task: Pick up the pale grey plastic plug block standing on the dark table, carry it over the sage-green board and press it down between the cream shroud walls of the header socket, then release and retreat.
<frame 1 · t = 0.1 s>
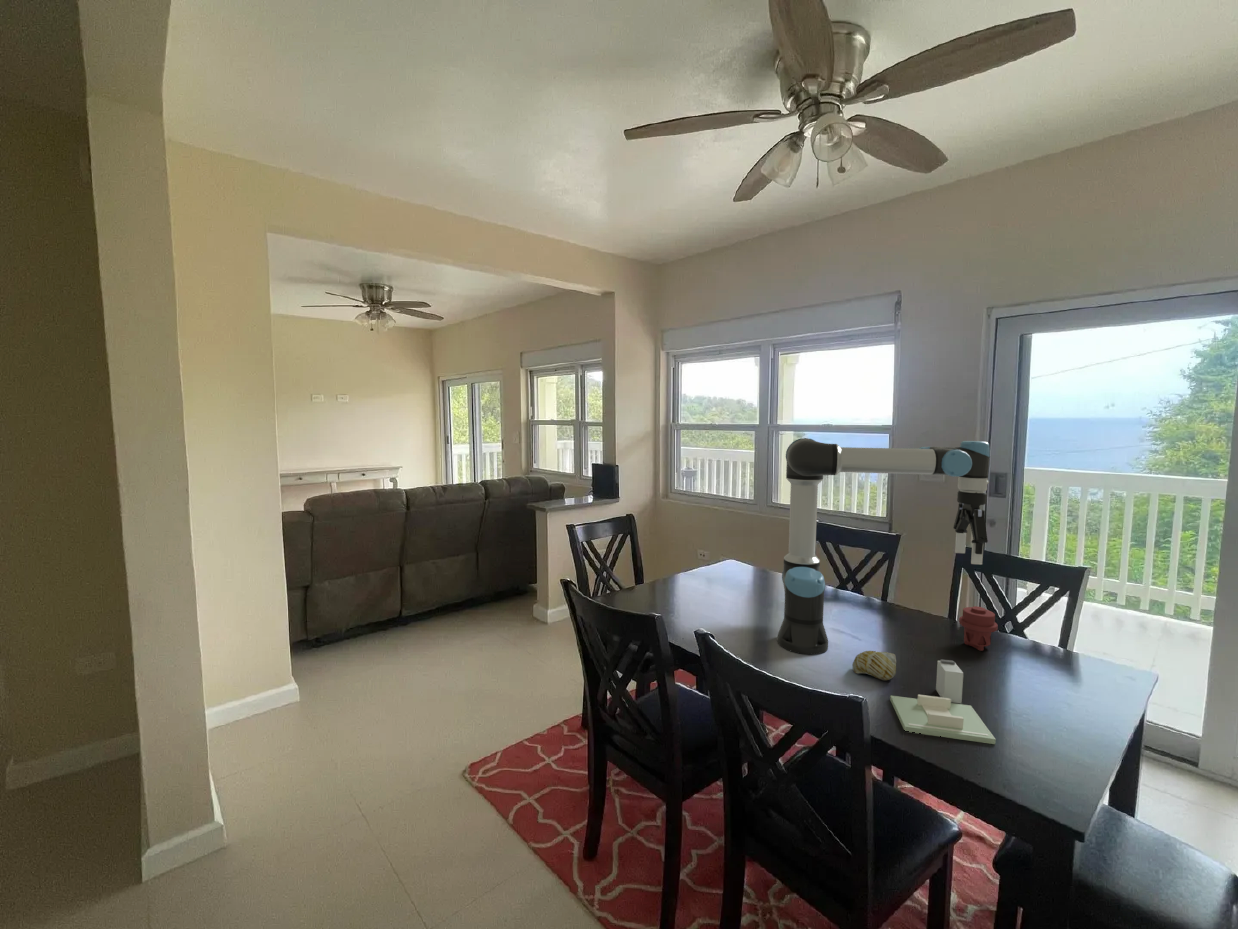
hand: (967, 558, 164), 28 cm above the table, fingers open, 13 cm apart
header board: (938, 720, 124), on the table
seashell: (874, 676, 146), on the table
mechanical component: (976, 647, 165), on the table
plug: (948, 696, 135), on the table
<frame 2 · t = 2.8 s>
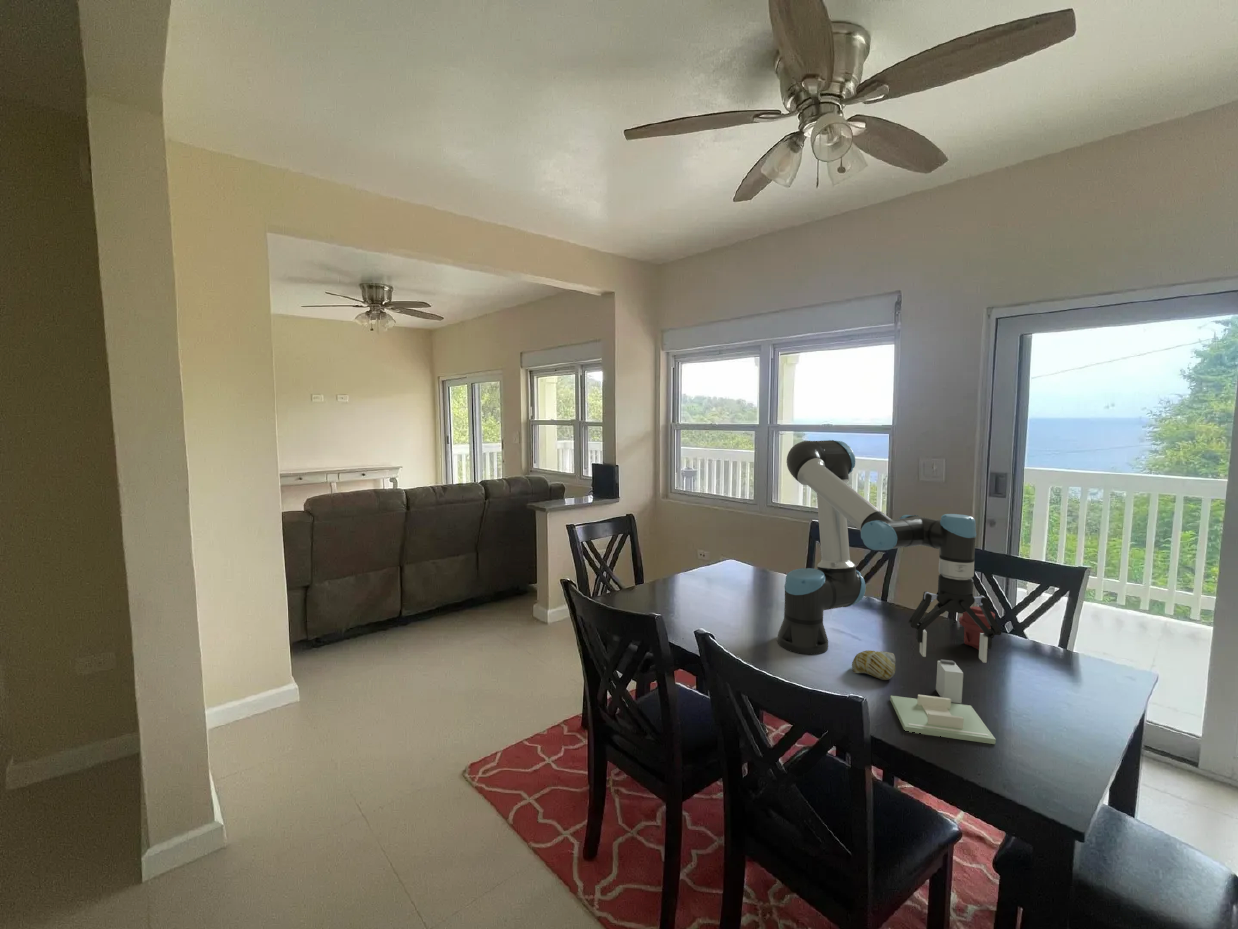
hand: (952, 657, 134), 11 cm above the table, fingers open, 13 cm apart
nothing on the table moved.
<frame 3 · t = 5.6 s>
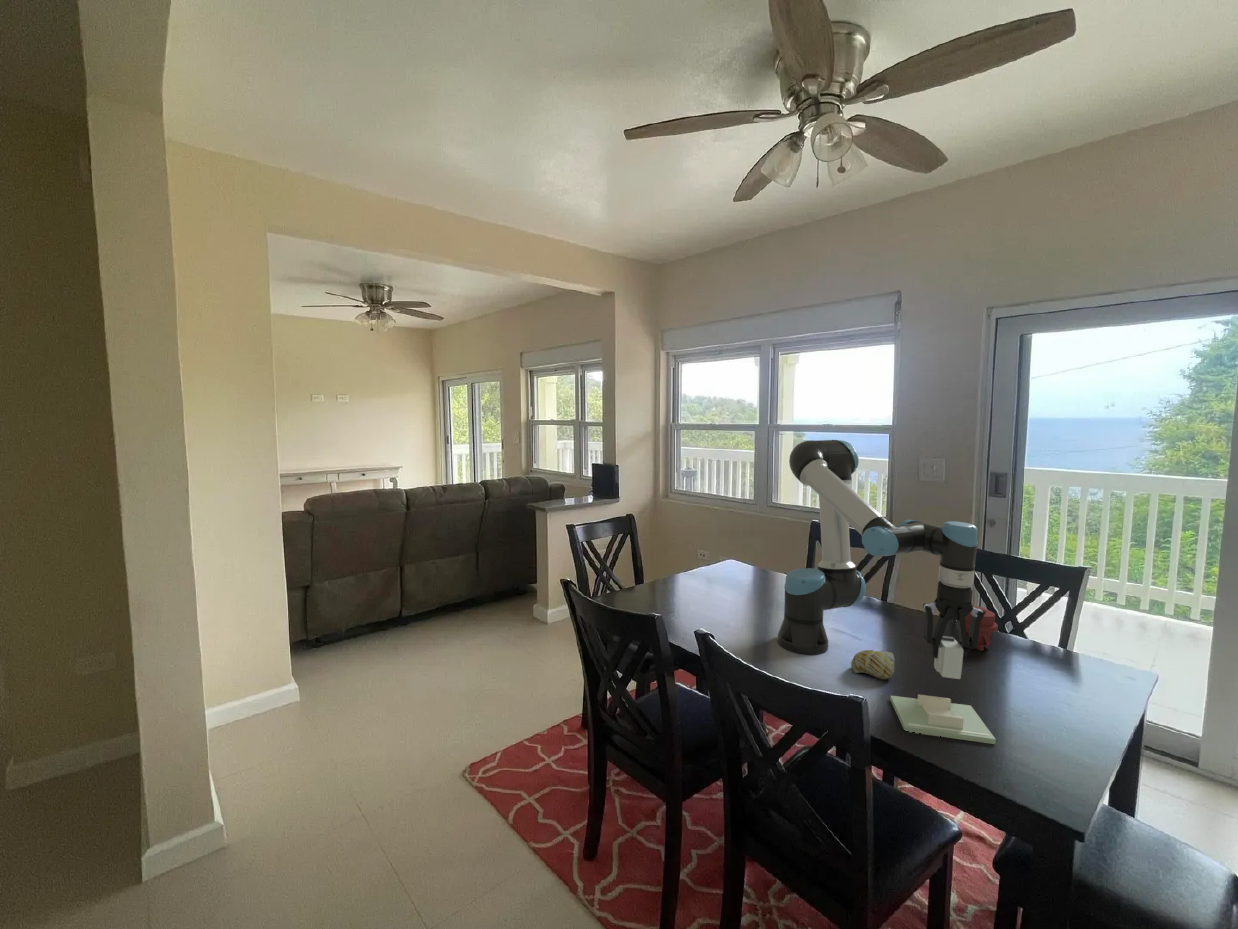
hand: (947, 670, 135), 7 cm above the table, fingers closed on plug, 4 cm apart
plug: (947, 672, 135), point 6 cm above the table, touching gripper
everything else where it was.
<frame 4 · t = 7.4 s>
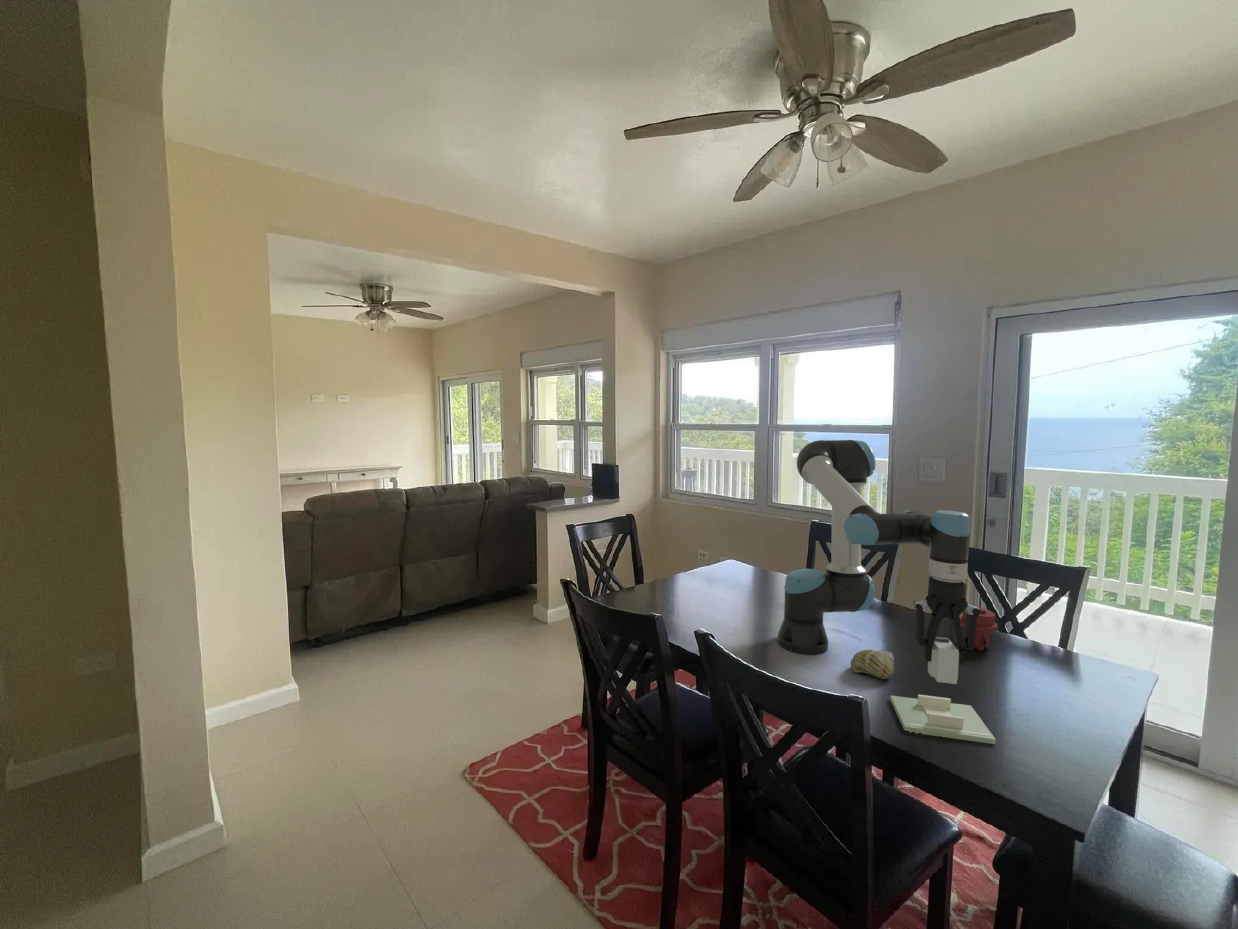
hand: (942, 675, 123), 11 cm above the table, fingers closed on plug, 4 cm apart
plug: (942, 677, 123), point 11 cm above the table, touching gripper
everything else where it was.
when the fingers open (2 cm above the table, at t = 9.3 s): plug stays where it is, resting on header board.
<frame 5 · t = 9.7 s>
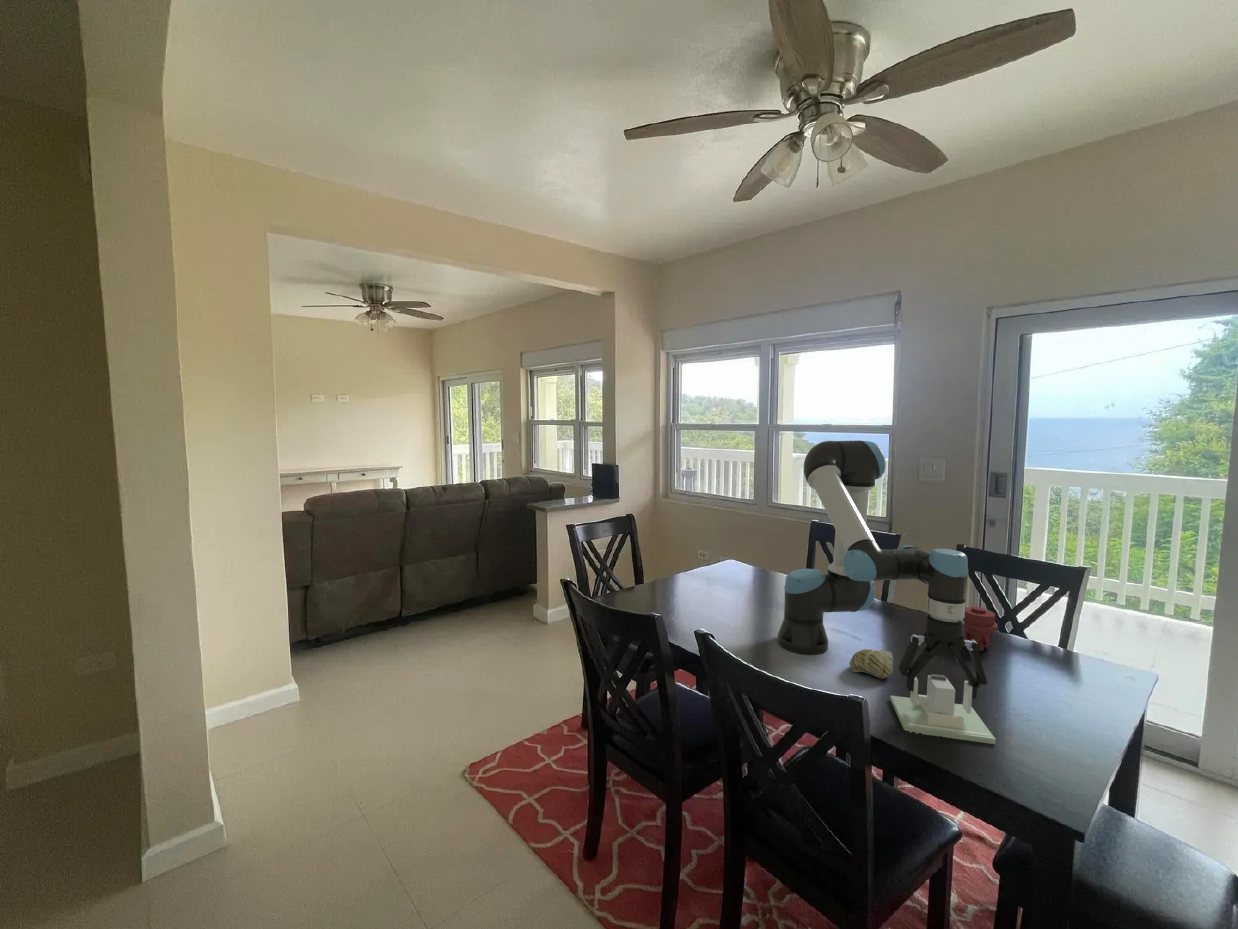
hand: (939, 707, 124), 3 cm above the table, fingers open, 10 cm apart
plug: (939, 714, 124), point 1 cm above the table, touching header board
everything else where it was.
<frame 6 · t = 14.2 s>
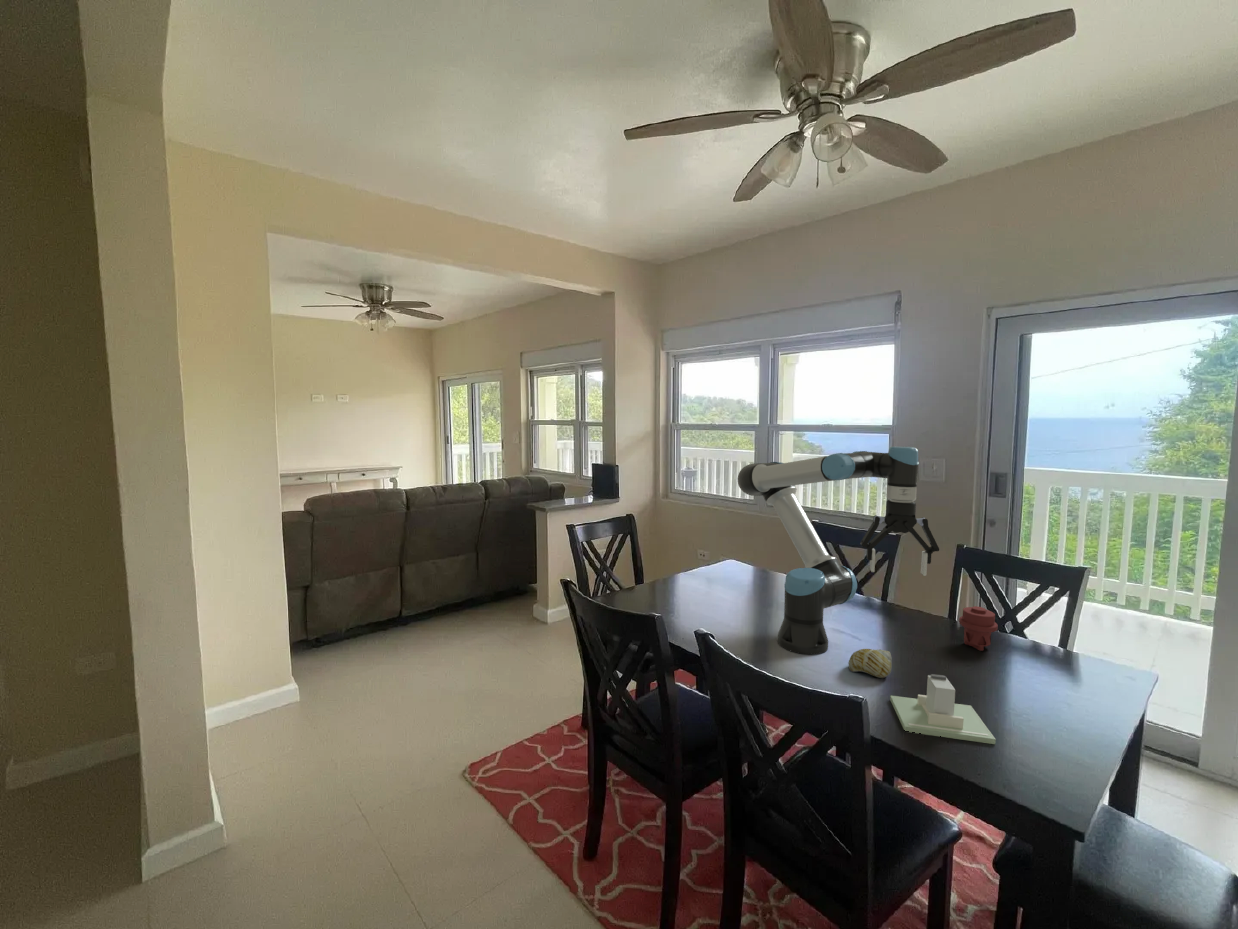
hand: (897, 572, 153), 27 cm above the table, fingers open, 13 cm apart
at the end: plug 0.1 cm off-centre on the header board, point 1.5 cm above the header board's base; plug tilted 0°; the gripper is holding nothing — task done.
